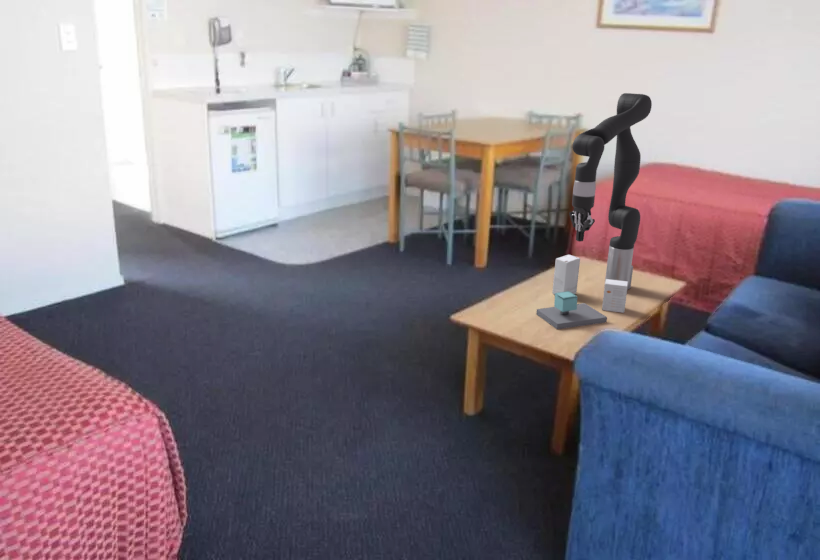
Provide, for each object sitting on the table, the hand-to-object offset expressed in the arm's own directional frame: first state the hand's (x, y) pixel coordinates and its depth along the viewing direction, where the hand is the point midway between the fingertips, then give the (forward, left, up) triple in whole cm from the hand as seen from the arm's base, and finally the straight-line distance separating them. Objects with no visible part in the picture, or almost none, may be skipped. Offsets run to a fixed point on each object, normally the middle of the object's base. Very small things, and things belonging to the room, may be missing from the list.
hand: (579, 240), depth 245 cm
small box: (-13, +6, -26) cm, 30 cm away
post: (+9, +9, -23) cm, 27 cm away
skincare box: (-4, -13, -26) cm, 29 cm away
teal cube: (+9, +9, -21) cm, 25 cm away
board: (+7, +9, -26) cm, 28 cm away
